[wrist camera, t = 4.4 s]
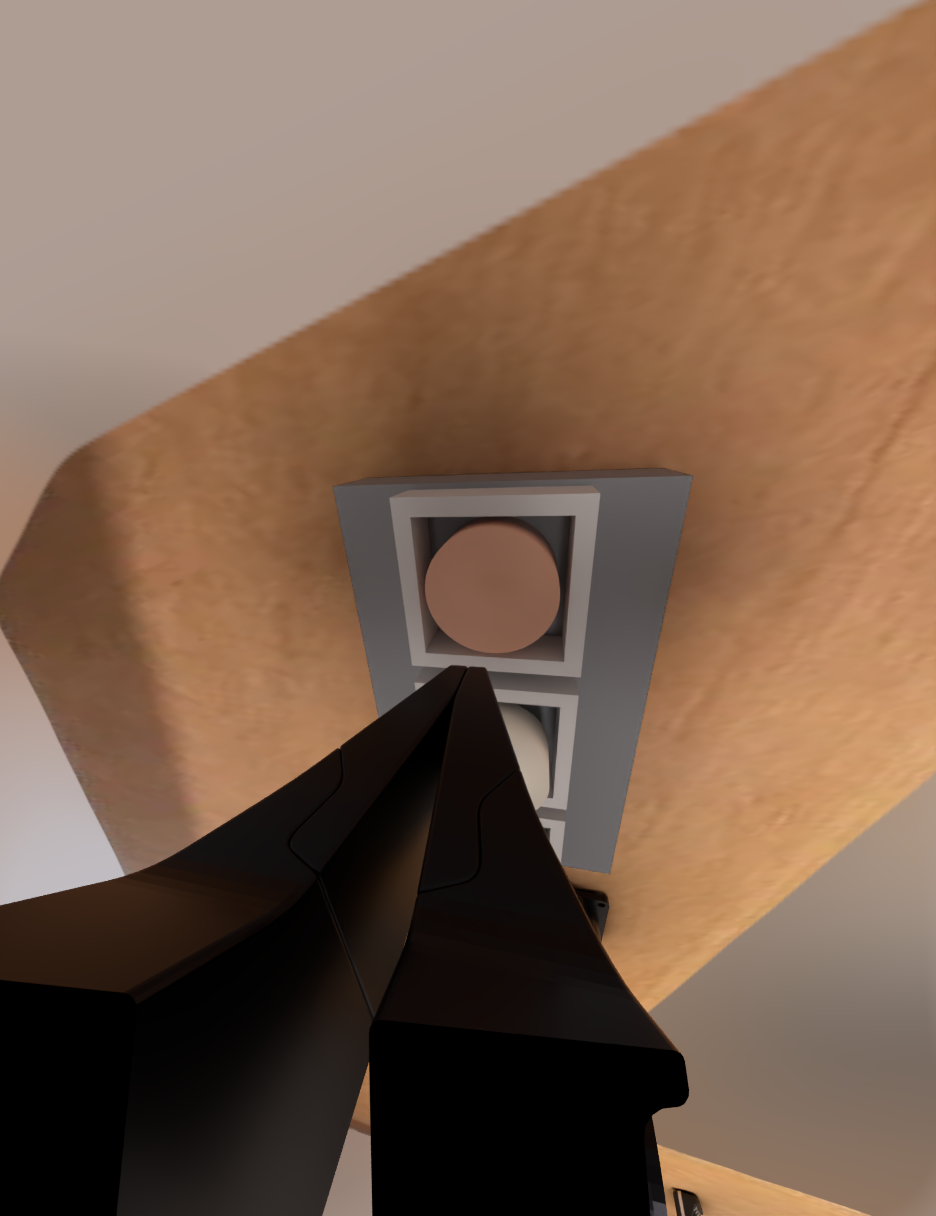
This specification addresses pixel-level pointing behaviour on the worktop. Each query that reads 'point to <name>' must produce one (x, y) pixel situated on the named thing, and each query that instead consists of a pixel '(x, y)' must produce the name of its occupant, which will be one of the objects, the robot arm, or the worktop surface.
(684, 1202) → the battery charger
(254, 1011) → the robot arm
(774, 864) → the worktop surface
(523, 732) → the cream button
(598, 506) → the grey button panel
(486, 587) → the terracotta button
